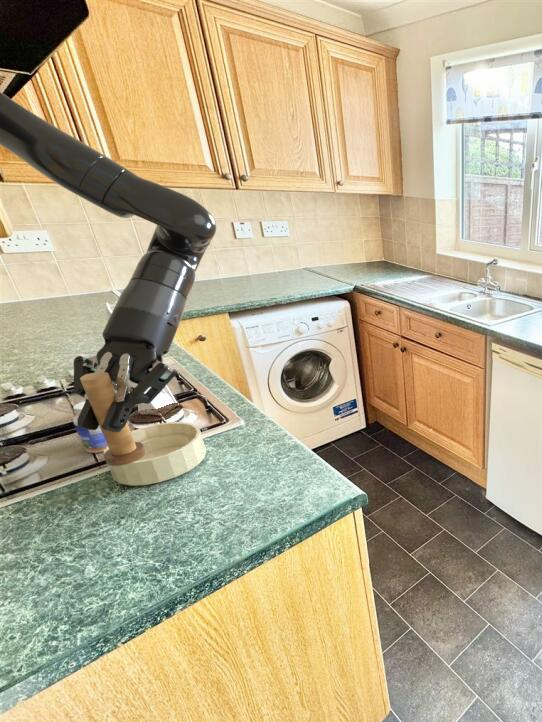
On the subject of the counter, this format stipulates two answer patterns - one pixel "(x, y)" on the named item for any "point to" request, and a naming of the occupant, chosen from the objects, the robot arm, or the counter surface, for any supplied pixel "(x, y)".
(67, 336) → the counter surface
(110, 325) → the robot arm
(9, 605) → the counter surface
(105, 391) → the tan cylinder
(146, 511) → the counter surface
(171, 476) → the bowl
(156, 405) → the skyscraper
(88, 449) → the pill bottle
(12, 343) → the counter surface
